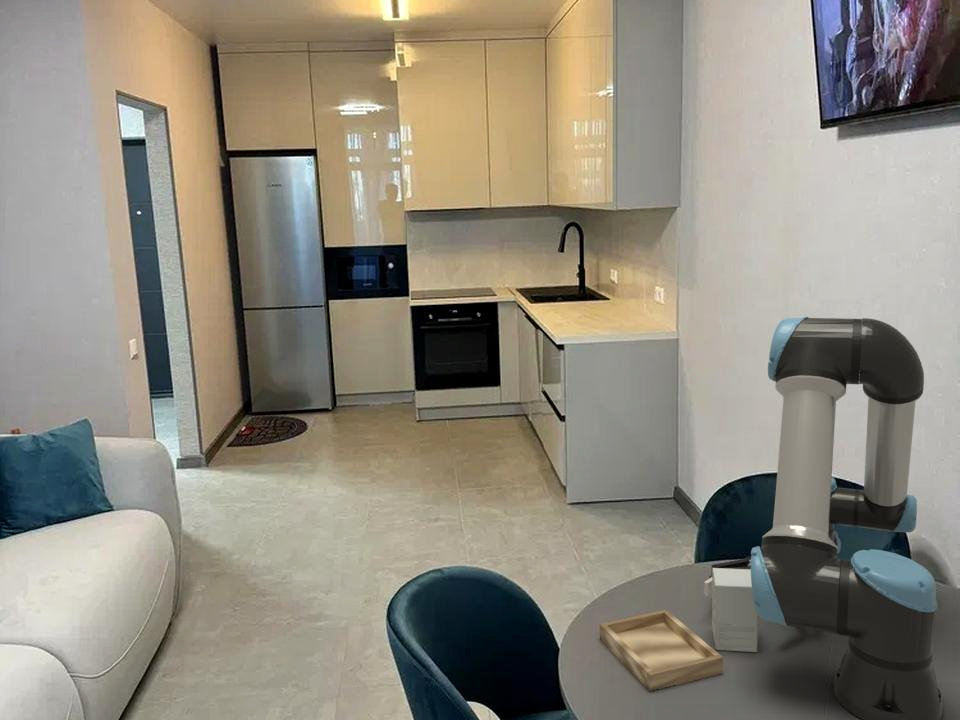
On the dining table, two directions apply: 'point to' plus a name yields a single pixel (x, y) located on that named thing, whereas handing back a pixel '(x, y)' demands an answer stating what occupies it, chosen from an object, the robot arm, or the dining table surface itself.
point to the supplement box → (733, 610)
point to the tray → (660, 650)
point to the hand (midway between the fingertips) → (738, 600)
